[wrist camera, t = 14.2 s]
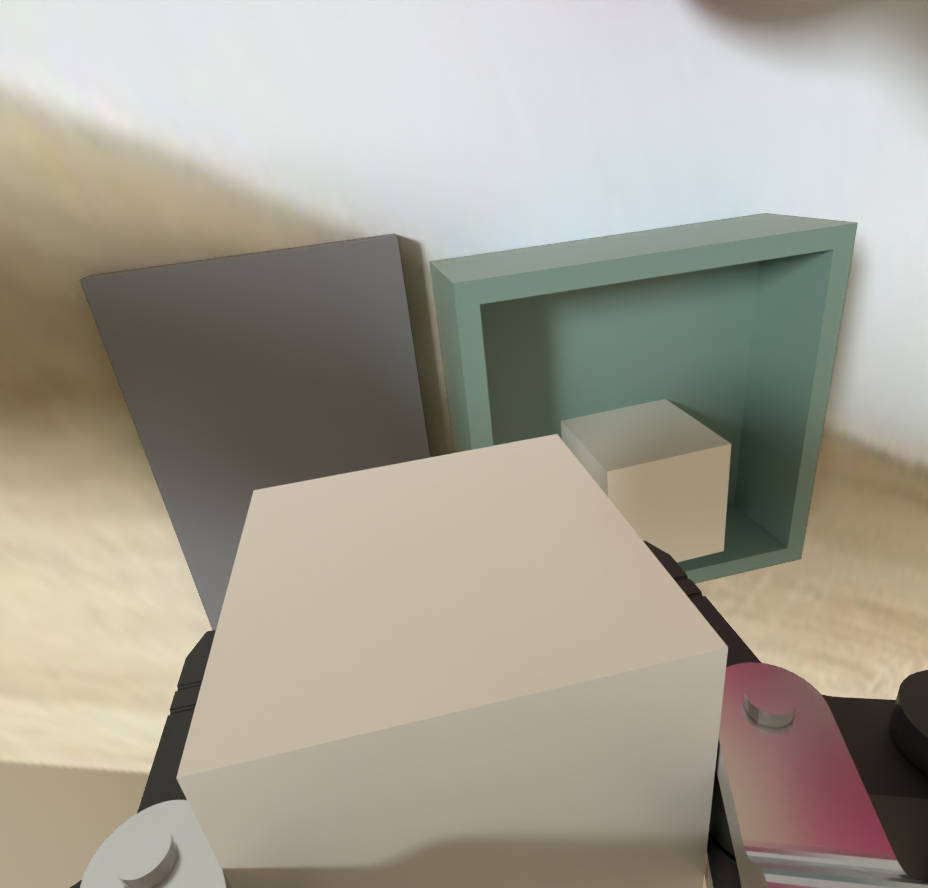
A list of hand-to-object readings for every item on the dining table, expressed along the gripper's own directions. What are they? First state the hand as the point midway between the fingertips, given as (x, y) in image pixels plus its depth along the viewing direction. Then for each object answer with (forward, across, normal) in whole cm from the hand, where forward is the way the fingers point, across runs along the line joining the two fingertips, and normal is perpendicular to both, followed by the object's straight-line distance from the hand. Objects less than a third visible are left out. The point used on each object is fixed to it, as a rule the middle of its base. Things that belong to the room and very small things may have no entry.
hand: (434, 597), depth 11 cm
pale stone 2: (+15, -10, +7) cm, 19 cm away
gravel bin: (+16, -10, +4) cm, 19 cm away
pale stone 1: (0, 0, 0) cm, 0 cm away
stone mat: (+16, +4, +5) cm, 17 cm away
